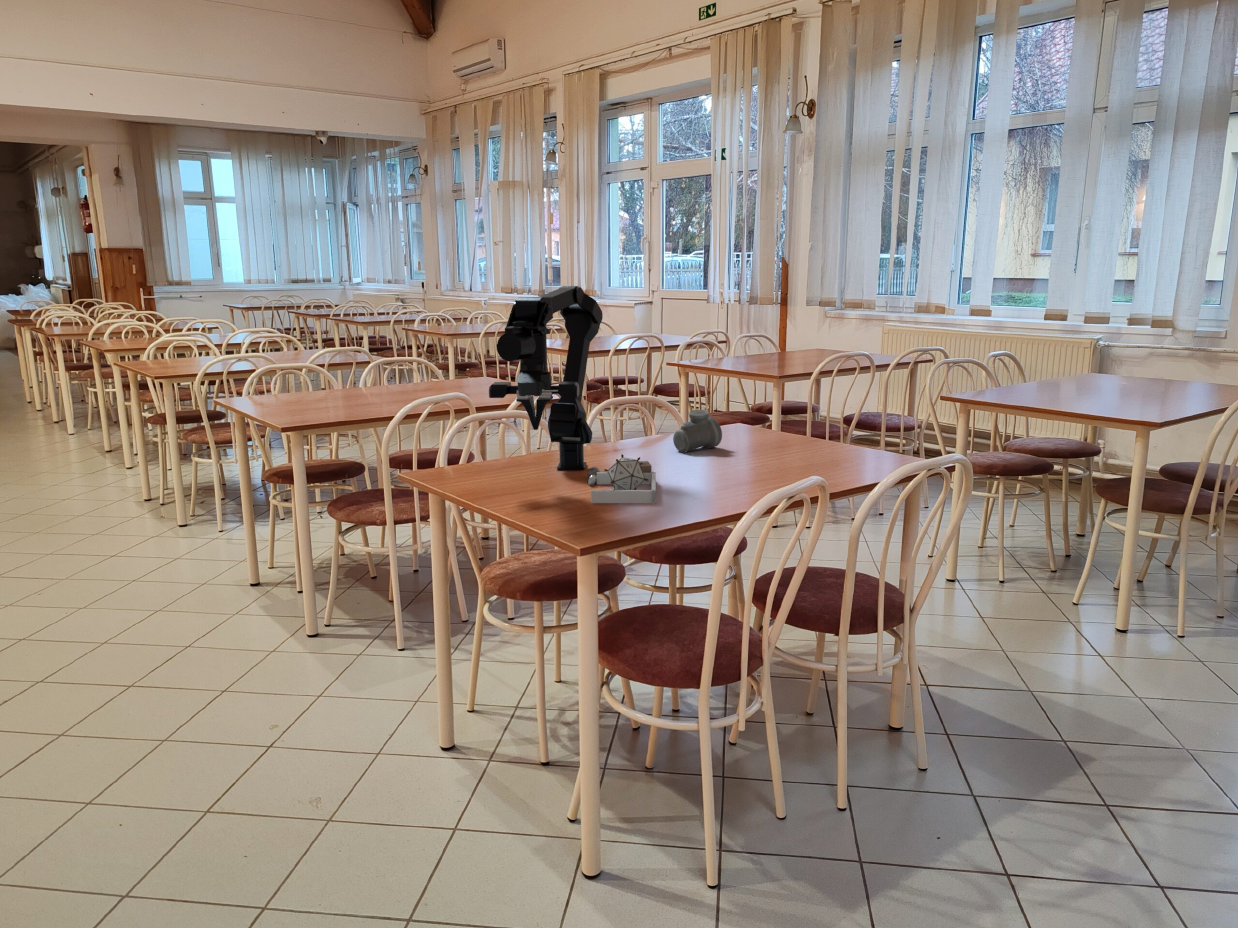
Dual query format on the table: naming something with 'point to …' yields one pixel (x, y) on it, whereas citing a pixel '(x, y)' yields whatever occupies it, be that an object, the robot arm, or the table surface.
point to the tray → (624, 491)
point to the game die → (626, 474)
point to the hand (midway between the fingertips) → (535, 429)
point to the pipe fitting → (698, 432)
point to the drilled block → (645, 466)
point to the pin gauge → (592, 475)
